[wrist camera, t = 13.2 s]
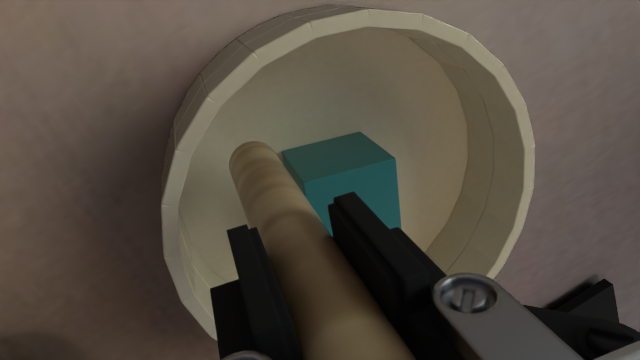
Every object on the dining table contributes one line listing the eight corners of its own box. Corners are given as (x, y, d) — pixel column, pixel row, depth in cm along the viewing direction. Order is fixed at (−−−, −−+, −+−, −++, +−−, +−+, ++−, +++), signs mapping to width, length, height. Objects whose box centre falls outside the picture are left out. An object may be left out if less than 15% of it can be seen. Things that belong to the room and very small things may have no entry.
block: (295, 223, 23) (317, 265, 20) (281, 150, 21) (303, 182, 18) (368, 202, 24) (402, 239, 20) (360, 130, 22) (396, 157, 19)
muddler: (235, 192, 19) (344, 504, 7) (223, 147, 18) (324, 422, 7) (281, 178, 19) (452, 454, 8) (271, 134, 18) (447, 371, 7)
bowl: (217, 345, 25) (226, 421, 21) (109, 49, 18) (90, 69, 14) (474, 256, 28) (530, 305, 24) (465, -26, 21) (542, -30, 17)
